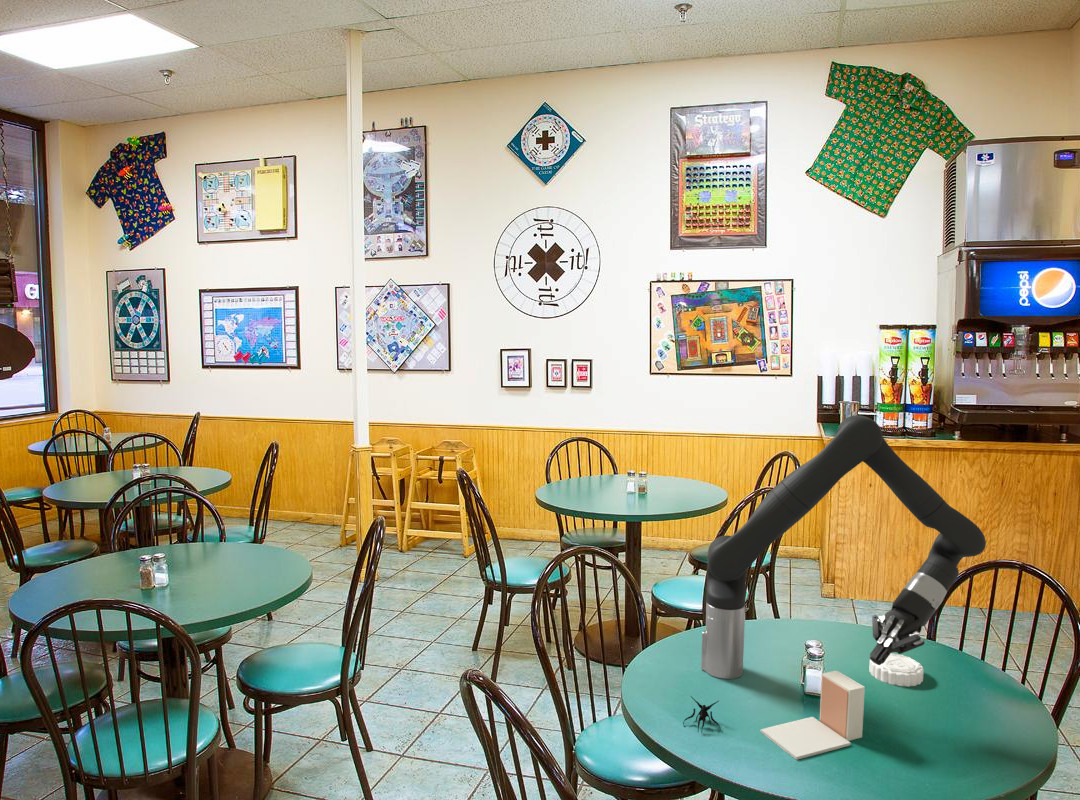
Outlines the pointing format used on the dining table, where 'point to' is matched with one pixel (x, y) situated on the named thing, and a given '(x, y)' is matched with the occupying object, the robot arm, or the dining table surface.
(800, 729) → the mat
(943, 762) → the dining table surface
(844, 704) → the cream rectangular block
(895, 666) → the mooncake
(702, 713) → the creature
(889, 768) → the dining table surface
